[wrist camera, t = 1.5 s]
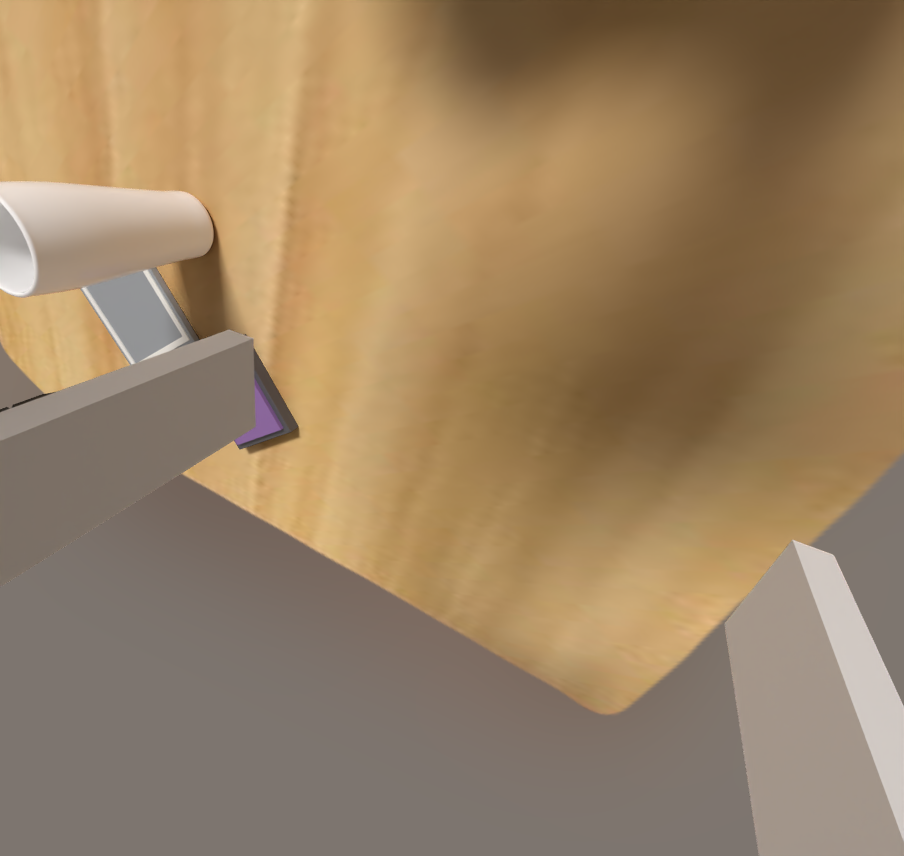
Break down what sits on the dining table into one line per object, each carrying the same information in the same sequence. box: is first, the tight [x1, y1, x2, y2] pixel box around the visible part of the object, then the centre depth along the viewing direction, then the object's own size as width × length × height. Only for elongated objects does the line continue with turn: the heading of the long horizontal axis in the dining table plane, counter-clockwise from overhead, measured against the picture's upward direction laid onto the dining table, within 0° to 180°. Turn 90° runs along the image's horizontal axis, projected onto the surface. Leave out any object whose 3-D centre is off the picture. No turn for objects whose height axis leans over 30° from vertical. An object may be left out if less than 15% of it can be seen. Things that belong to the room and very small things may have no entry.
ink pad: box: [234, 334, 298, 449], centre depth 48 cm, size 10×8×2 cm
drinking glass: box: [0, 181, 214, 297], centre depth 35 cm, size 7×7×15 cm
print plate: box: [80, 268, 199, 365], centre depth 48 cm, size 11×11×1 cm
